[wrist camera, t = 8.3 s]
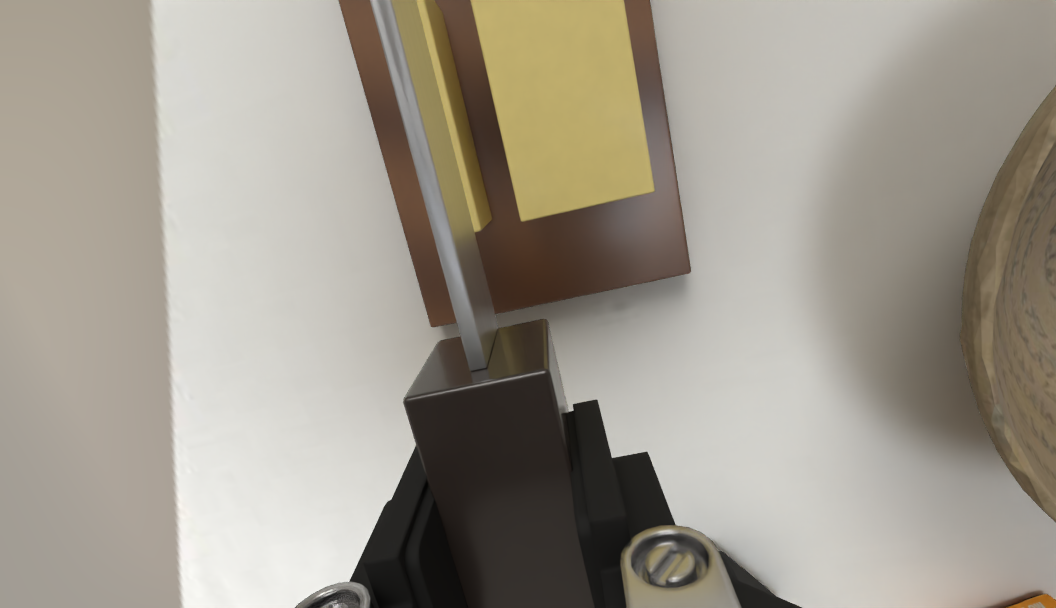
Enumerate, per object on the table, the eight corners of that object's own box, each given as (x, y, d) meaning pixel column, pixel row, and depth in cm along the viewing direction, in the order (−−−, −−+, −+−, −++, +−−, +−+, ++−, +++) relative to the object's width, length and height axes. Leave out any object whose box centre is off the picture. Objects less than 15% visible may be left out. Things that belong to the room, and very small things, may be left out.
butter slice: (407, 20, 18) (375, -16, 14) (442, 11, 17) (418, -27, 14) (460, 227, 19) (442, 239, 16) (492, 219, 19) (481, 231, 16)
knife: (311, -106, 9) (205, -235, 6) (442, -144, 9) (396, -295, 6) (512, 608, 13) (504, 736, 10) (609, 591, 13) (630, 718, 10)
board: (329, -66, 18) (314, -81, 17) (619, -147, 17) (624, -169, 16) (436, 319, 21) (430, 328, 20) (683, 267, 21) (692, 273, 19)
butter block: (477, 2, 17) (461, -39, 14) (597, -30, 17) (611, -79, 14) (524, 212, 19) (520, 222, 16) (635, 187, 19) (655, 191, 15)
